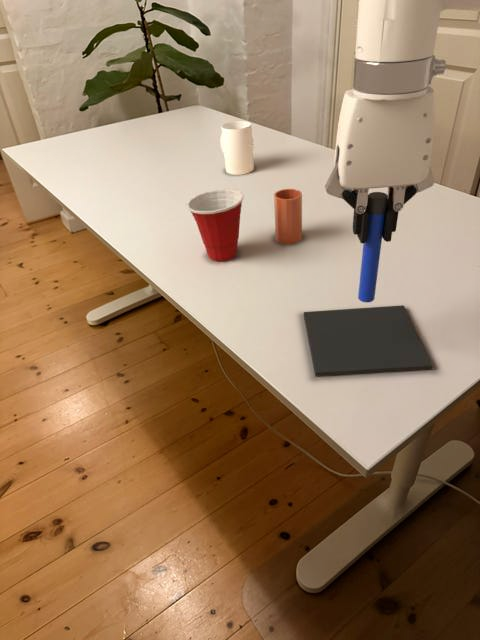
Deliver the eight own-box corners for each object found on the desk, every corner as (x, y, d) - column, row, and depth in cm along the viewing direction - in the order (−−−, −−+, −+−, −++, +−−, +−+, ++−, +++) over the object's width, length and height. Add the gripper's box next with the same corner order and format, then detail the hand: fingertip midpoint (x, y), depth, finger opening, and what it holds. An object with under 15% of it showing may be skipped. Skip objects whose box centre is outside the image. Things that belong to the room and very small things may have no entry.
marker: (372, 292, 65) (385, 191, 56) (376, 302, 63) (390, 198, 54) (356, 293, 65) (365, 192, 56) (359, 303, 63) (370, 200, 54)
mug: (235, 159, 137) (232, 116, 130) (260, 168, 129) (258, 124, 122) (212, 166, 134) (207, 123, 127) (236, 177, 126) (232, 131, 119)
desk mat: (403, 309, 74) (403, 305, 74) (432, 369, 63) (433, 365, 63) (303, 315, 75) (303, 311, 75) (315, 376, 64) (315, 372, 64)
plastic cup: (208, 238, 99) (201, 184, 92) (256, 244, 95) (252, 188, 88) (185, 264, 91) (175, 207, 84) (235, 272, 87) (229, 213, 80)
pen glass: (300, 230, 98) (300, 187, 93) (303, 242, 94) (303, 198, 88) (274, 232, 99) (273, 189, 93) (276, 244, 94) (275, 200, 89)
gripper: (456, 63, 50) (427, 220, 61) (308, 76, 51) (306, 228, 62) (486, 77, 44) (447, 247, 55) (317, 91, 45) (313, 256, 56)
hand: (373, 236), depth 59 cm, fingers closed on marker, 2 cm apart
